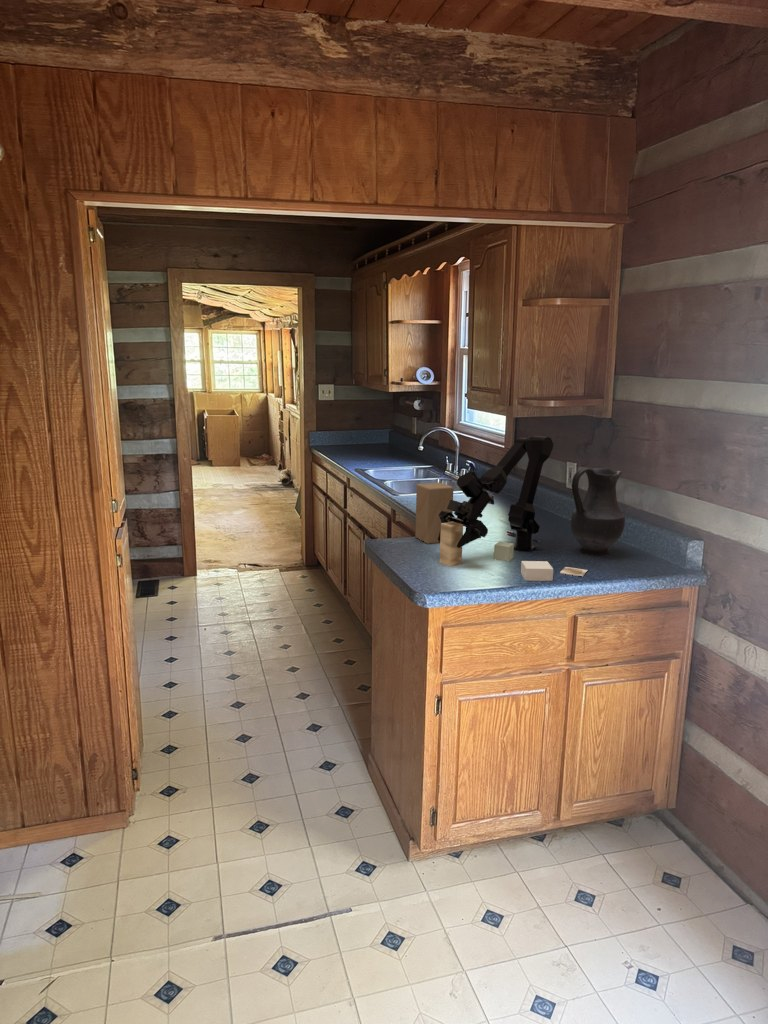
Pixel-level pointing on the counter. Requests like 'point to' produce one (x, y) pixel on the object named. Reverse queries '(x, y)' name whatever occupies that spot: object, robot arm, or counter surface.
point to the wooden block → (431, 509)
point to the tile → (573, 571)
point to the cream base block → (536, 571)
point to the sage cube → (503, 551)
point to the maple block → (450, 543)
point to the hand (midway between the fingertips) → (447, 544)
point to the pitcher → (597, 511)
